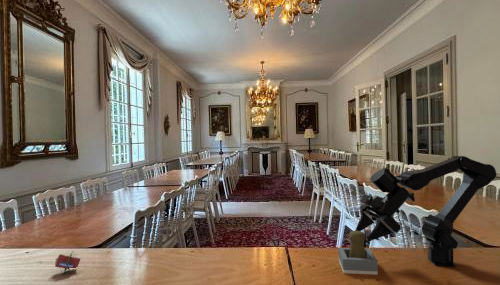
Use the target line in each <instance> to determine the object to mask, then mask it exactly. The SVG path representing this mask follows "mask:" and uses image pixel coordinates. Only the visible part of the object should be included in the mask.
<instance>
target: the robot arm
mask: <svg viewBox="0 0 500 285" xmlns="http://www.w3.org/2000/svg"><path fill="white" fill-rule="evenodd" d="M458 170H459V171H460V172H462V173H463V174H462V182H461V184H460V185H459V186H458V187H457V189H456V191H455V192H454V193H453V194H452V195H451V197H450V198H449V200H448V201H447V202H446V203H445V205H444V206H443V207H442V209H441V210H440V211H439V213H437V214H436V215H434V214H433V215H432V214H430V213H429V214H428V215H427V217H426V219H425V220H424V221H423V222H422V226H421V233H422V235H423V236H424V237H425V240H426V241H427V242H429V246H428V248H427V251H428V252H427V259H428V260H429V261H430V262H431V263H432V264H433V265H434V266H438V267H439V266H440V267H441V266H442V267H456V266H457V264H456V263H454V249H457V247H458V244H459V242H458V240H456V239H455V238H454V237H453V236H452V234H453V232H454V222H455V221H456V220H457V219H458V217H459V216H460V214H461V213H462V212H463V211H464V209H465V208H466V207H467V205H468V204H469V203H470V201H471V200H472V199H473V198H474V196H475V195H476V193H477V192H478V191H479V190H480V189H482V188H484V187H486V186H489V185H490V183H492V182H493V181H494V180H495V178H496V177H497V170H496V167H494V165H492V164H487V163H483V162H480V161H477V160H474V159H471V158H469V157H467V156H465V155H454V156H452V157H451V158H448V159H445V160H442V161H440V162H438V163H435V164H433V165H429V166H427V167H425V168H421V169H413V170H412V169H411V170H407V171H403V172H402V173H400V175H396V176H395V175H394V174H393V173H392V172H391V171H390V169H389V168H388V167H382V168H381V169H380V170H378V171H376V172H374V173H373V174H372V175H371V177H370V179H369V180H370V182H371V183H372V184H373V185H375V187H376V188H377V189H378V190H380V192H382V193H386V194H385V196H384V197H383V196H378V195H376V194H375V195H373V196H371V195H368V194H366V193H363V194H362V197H361V200H360V203H362V204H361V205H360V206H359V207H358V208H359V213H360V218H359V221H358V223H357V225H356V228H355V230H354V231H361V232H363V230H365V229H366V228H369V227H370V226H372V225H374V224H375V226H374V227H373V229H372V230H371V231H370V233H369V234H368V236H367V237H366V240H367V241H368V242H371V241H374V240H376V239H379V238H382V237H385V236H389V235H394V233H395V234H398V233H399V232H400V231H401V230H402V228H401V224H400V223H399V221H397V220H396V219H395V218H394V217H393V216H394V215H395V214H396V213H397V214H399V213H400V212H401V210H400V208H401V207H402V206H403V205H404V203H406V201H407V200H408V201H411V202H415V201H416V199H415V193H414V192H411V191H409V190H412V191H420V190H422V189H423V188H425V187H427V186H428V185H429V184H430V183H431V182H432V181H433V180H437V179H438V178H441V177H444V176H446V175H448V174H451V173H454V172H456V171H458ZM408 189H409V190H408Z"/></svg>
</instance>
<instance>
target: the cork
mask: <svg viewBox="0 0 500 285" xmlns="http://www.w3.org/2000/svg"><path fill="white" fill-rule="evenodd" d="M348 239H349V240H350V245H349V248H350V253H349V258H366V254H365V249H366V247H365V240H366V234H365V233H364V232H363V231H355V230H351V231H350V232H349V233H348Z"/></svg>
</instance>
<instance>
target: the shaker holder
mask: <svg viewBox="0 0 500 285" xmlns="http://www.w3.org/2000/svg"><path fill="white" fill-rule="evenodd" d="M349 253H350V247H338V261H339V265H340V267H341V270H342V273H343V274H354V275H355V274H356V275H379V273H378V272H379V270H378V269H379V268H378V267H379V266H378V265H379V263H378V262H379V261H378V259H377V258H376V255H375V254H374V253H373V252H372V250H371V248H365V254H366V258H349Z"/></svg>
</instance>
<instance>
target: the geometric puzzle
mask: <svg viewBox="0 0 500 285" xmlns="http://www.w3.org/2000/svg"><path fill="white" fill-rule="evenodd" d="M67 253H69V251H68V252H66V254H67ZM66 254H63V253H62V254H60V253H59V255H58V256H57V258H56V259H55V262H54V267H55V268H57V269H58V268H59V271H62V270H61V268H62V269H64V270H65V269H66V270H68V271H71V270H70V269H69V268H76V267H77V268H78V266H79V264H80V262H81V258H79V257H77V256H76V255H77V254H76V252H74V251H71V253H70V254H69V255H66ZM73 254H74V255H73ZM75 254H76V255H75Z"/></svg>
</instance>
